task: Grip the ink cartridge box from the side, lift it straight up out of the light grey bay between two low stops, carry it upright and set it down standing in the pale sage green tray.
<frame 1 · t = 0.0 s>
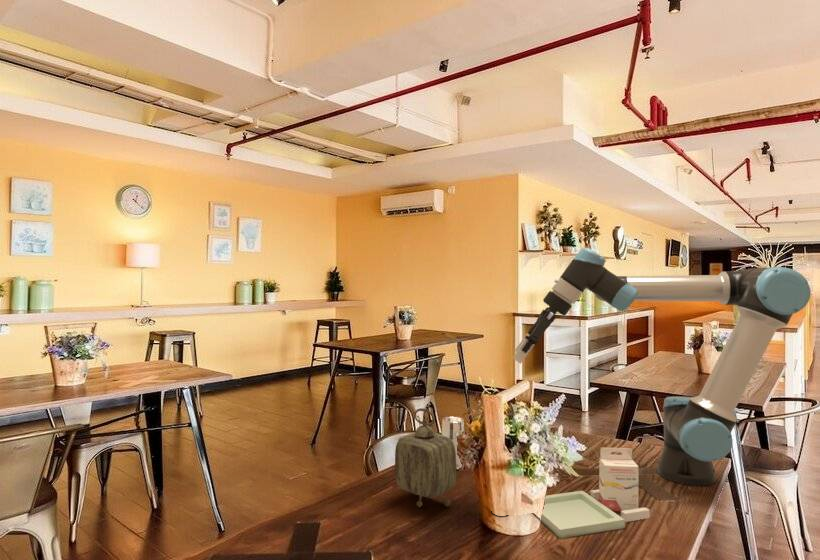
hand: (517, 356, 150), 36 cm above the table, tool tilted 35°, fingers open, 13 cm apart
cartridge bay: (618, 507, 133), on the table
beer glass: (453, 468, 161), on the table
sage tray: (572, 516, 128), on the table
ink cartridge box: (618, 508, 133), on the table
tabletop clock: (424, 505, 136), on the table
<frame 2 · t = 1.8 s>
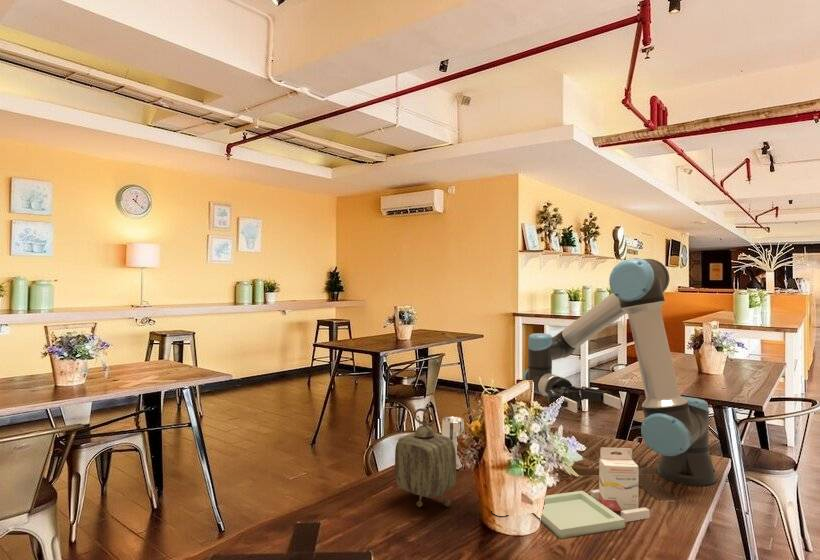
hand: (598, 405, 140), 24 cm above the table, tool horizontal, fingers open, 13 cm apart
nothing on the table moved.
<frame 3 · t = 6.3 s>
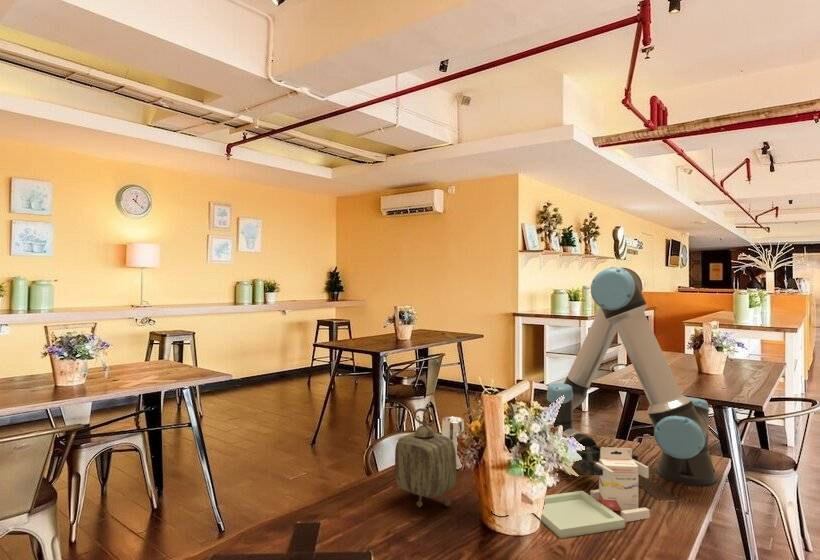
hand: (630, 474, 128), 10 cm above the table, tool horizontal, fingers closed on ink cartridge box, 9 cm apart
ink cartridge box: (618, 508, 133), on the table, touching gripper
everything else where it was.
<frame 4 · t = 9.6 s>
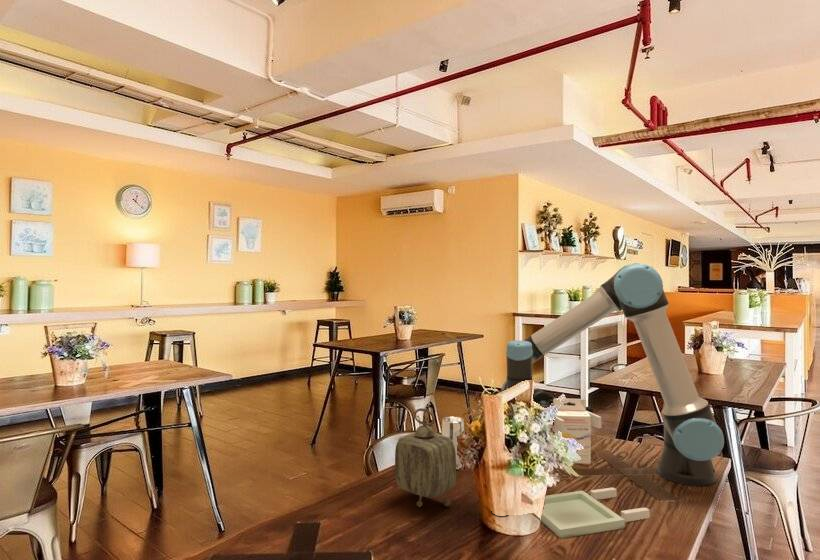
hand: (581, 424, 124), 24 cm above the table, tool horizontal, fingers closed on ink cartridge box, 9 cm apart
ink cartridge box: (571, 460, 128), point 14 cm above the table, touching gripper
everything else where it was.
when the fingers open (12 cm above the table, at t = 12.9 s): ink cartridge box drops 1 cm, resting on sage tray.
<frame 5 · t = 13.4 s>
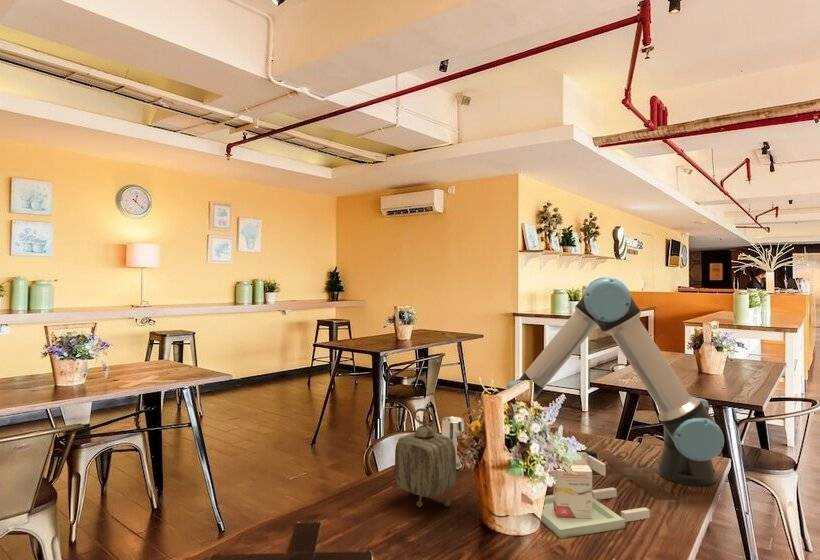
hand: (579, 473, 125), 12 cm above the table, tool horizontal, fingers open, 13 cm apart
ink cartridge box: (572, 514, 128), resting on sage tray
everything else where it was.
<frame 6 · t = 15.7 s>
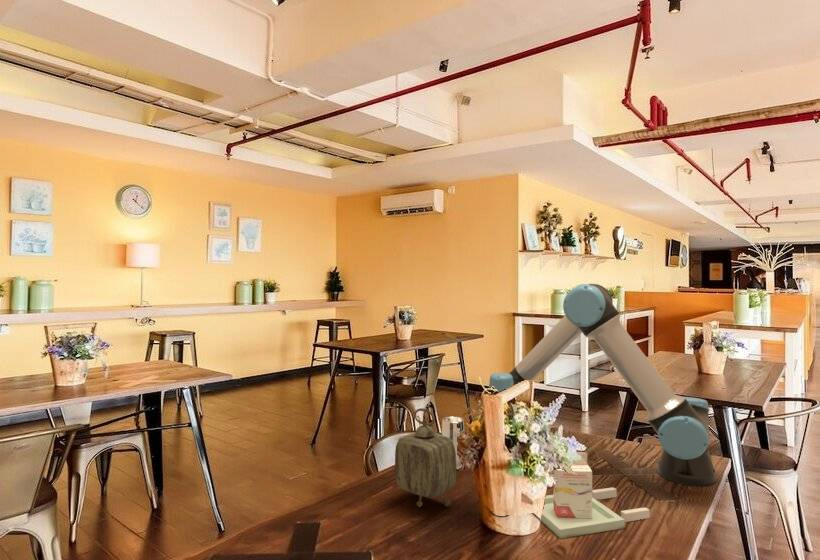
hand: (552, 455, 137), 12 cm above the table, tool horizontal, fingers open, 13 cm apart
nothing on the table moved.
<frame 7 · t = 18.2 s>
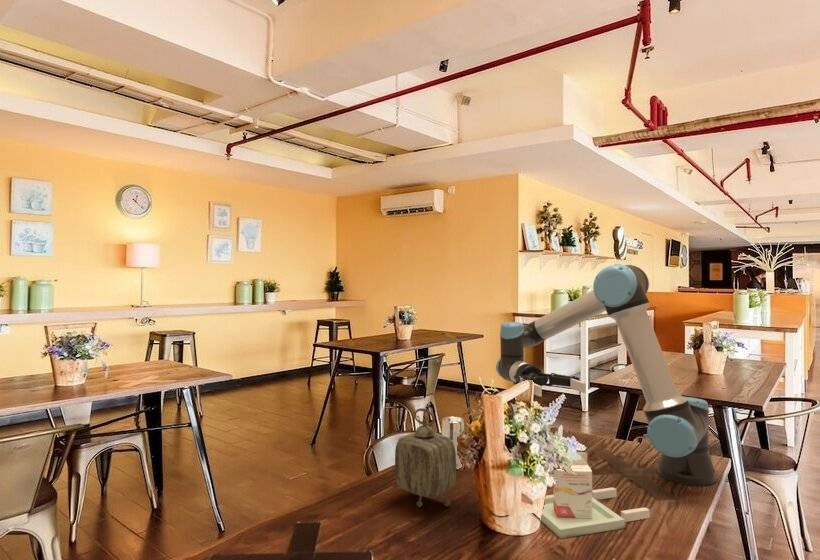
hand: (562, 389, 142), 28 cm above the table, tool horizontal, fingers open, 13 cm apart
nothing on the table moved.
at the end: ink cartridge box inside the target area on the sage tray (0.2 cm from its centre), point 0.4 cm above the sage tray's base; ink cartridge box tilted 0°; the gripper is holding nothing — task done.
